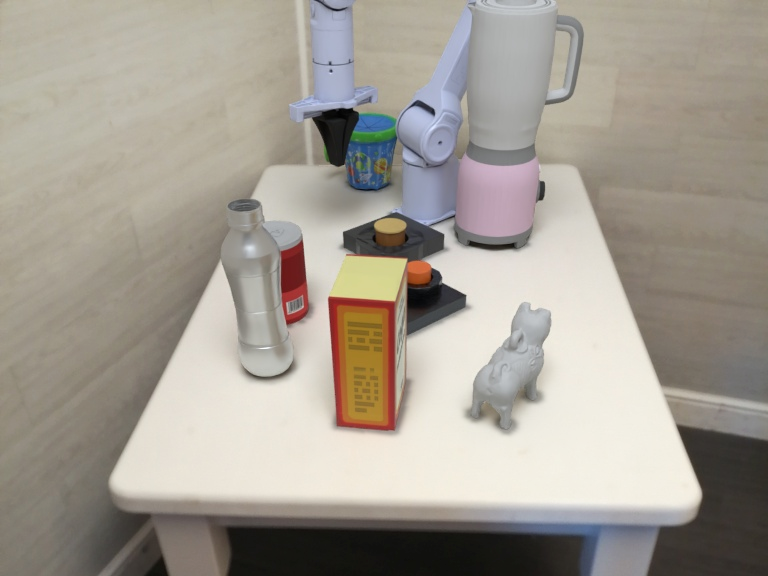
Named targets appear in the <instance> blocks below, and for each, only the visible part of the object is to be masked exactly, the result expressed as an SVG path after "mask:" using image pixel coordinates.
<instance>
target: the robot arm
mask: <svg viewBox="0 0 768 576" xmlns="http://www.w3.org/2000/svg"><path fill="white" fill-rule="evenodd" d="M355 2H356V0H308V4H309V6H308V7H309V28H310V47H311V61H312V62H311V65H312V79H313V81H312V82H313V94H311V95H309V96H307V97H305V98H302V99H301V100H298V101H296V102H293V103H289V104H288V110H289V111H288V113H289V120H290V121H292V122H295V123H297V124H300V123H303V122H304V121H305V120H307V119H312V121H313V123H314V124H315V126H316V128H317V130H318V132H319V134H320V136H321V139H322V141H323V145H324V144H325V147H326V151H327V154H328V158H329V162H328V163H329V164H330V165H332V166H334V167H336V168H339V167H342V166H345V160H346V155H347V150H348V146H349V142H350V139H351V136H352V133H353V131H354V128H355V126H356V124H357V123H358V121H359V113H360V112H359V111H357V110H354V108H356V107H359V106H362V105H367V104H373V105H374V104H378V103H379V88H378V87H376V86H373V85H370V84H368V85H362V86H355V51H354V16H353V15H354V13H353V12H354V10H353V5H354V4H355ZM473 2H476V0H467V1H466V3H465V5H464V7H463V10H462V11H461V14H460V15H459V17H458V19H457V22H456V25H455V26H454V29H453V31H452V33H451V35H450V37H449V40H448V41H447V43H446V45H445V48H444V50H443V52H442V55H441V57H440V58H439V61H438V62H437V65H436V67H435V69H434V71H433V74H432V76H431V78H430V79H429V82H427V84H425V85H424V86H422V87H421V88H419V89H418V90H416V91H415V92H414V94H413V97H412V98H411V100H410V102H409V103H408V104H407V105H406V106H405V107H404V108H403V109H402V110H400V112H399V114H398V116H397V118H396V119H397V121H396V126H395V131H396V136H397V141H398V142H399V143H400V144H401V145H402V154H401V155H402V156H401V157H402V161H401V162H402V163H401V164H402V165H401V166H402V167H401V169H402V170H401V206H397V207H395V208H392V209H391V210H390V214H392V213H395V212H398V213H400V214H402V215H404V216H407V217H409V218H411V219H413V220H415V221H417V222H419V223H422V224H424V225H426V226H428V227H430V226H431V225H434V224H436V223H439V222H441V221H444V220H446V219H449V218H451V217H453V216H454V217H455V216H456V198H457V182H458V171H459V166H460V162H461V161H460V160H459V158H458V157H457V155H456V154H455V150H456V147H457V144H458V138H459V137H458V136H459V131H460V128H461V127H462V125H463V122H464V116H463V115H464V114H463V109H462V100H463V98H464V96H465V94H466V93H467V68H468V52H469V40H470V32H471V23H472V13H471V11H470V9H469V8H468V7H467V6H466V5H467V4H468V3H473Z"/></svg>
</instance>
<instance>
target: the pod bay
mask: <svg viewBox="0 0 768 576" xmlns="http://www.w3.org/2000/svg"><path fill="white" fill-rule="evenodd" d="M385 218H396V219H400V220H403V221H404V222H405V223H406V229H405V243H404V244H402V245H398V246H383V245H378V244H377V243H376V230H375V228H374V224H375V222H377V221H378V220H381V219H385ZM342 244H343V245H342V246H343V248H344V249H346V250H348V251H350V252H352V253H353V254H355V255H371V256H387V257H403V258H408V263H409V262H412V261H423V259H424V258H427V257H429V256H431V255H434V254H437V253H438V252H441V251H443V250H444V249H445V233H444V232H441V231H438V230H437V229H435V228H432V227H430V226H426V225H424V224H422V223H419V222H417V221H415V220H413V219H411V218H409V217H407V216H404V215H402V214H400V213H398V212H395V213H389V214H386V215H384V216H381V217H378V218H376V219H374V220H371V221H368V222H366V223H363V224H360V225H358V226H354V227H353V228H352V227H351V228H350V229H347V230H344V231H342Z"/></svg>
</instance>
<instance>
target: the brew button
mask: <svg viewBox="0 0 768 576" xmlns="http://www.w3.org/2000/svg"><path fill="white" fill-rule="evenodd" d="M431 267H432V265H431V264H430V262H427V261H423V260H421V261H412V262H409V263H408V270H407V282H408V283H412V284H425V283H428V282H430V280H431Z"/></svg>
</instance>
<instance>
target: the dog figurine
mask: <svg viewBox="0 0 768 576" xmlns="http://www.w3.org/2000/svg"><path fill="white" fill-rule="evenodd" d="M531 305H532V304H531V302H528V301H523V302H521V303H520V304H519V306H518V307H517V310H516V312H515V314H514V316H513V318H512V320H511V325H510V335H509V336H508V337H507V338H505V340H503V342H502V344H501V346H498V348H497V349H496V350H495V351H494V352H493V354H492V355H491V358H490V360H489V361H488V363H487V364H485V365H484V366H482V368H480V369H479V371H478V372H477V374H476V375H475V377H474V379H473V382H472V398H471V412H470V417H472V418H474V419H478V418H479V417H480V414H481V409H482V407H483V405H484V403H485V402H487V404H489V405H490V406H491V407H492V408H493V409H494V410H495V411H496V412H497V413H498V414H499V415H500V421H499V423H498V425H499V427H500V428H501V429H503V430H509V429H510V428H511V427H512V422H511V421H512V419H511V417H512V411H513V406H514V402H515V400H516V398H517V396H518V393H519V392H520V390H521V389H522V388H524V391H525V397H526V398H527V399H529V400H532V401H535V400H536V399H537V398H538V392H537V381H538V378H539V375H540V374H541V372H542V370H543V367H544V364H545V353H544V351H545V350H544V348H543V345H544V342H545V341H546V339H548V336H549V335H550V332H551V327H552V312H551V310H549V309H546V308H544V307H538V308H537V309H532V308H531Z"/></svg>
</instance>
